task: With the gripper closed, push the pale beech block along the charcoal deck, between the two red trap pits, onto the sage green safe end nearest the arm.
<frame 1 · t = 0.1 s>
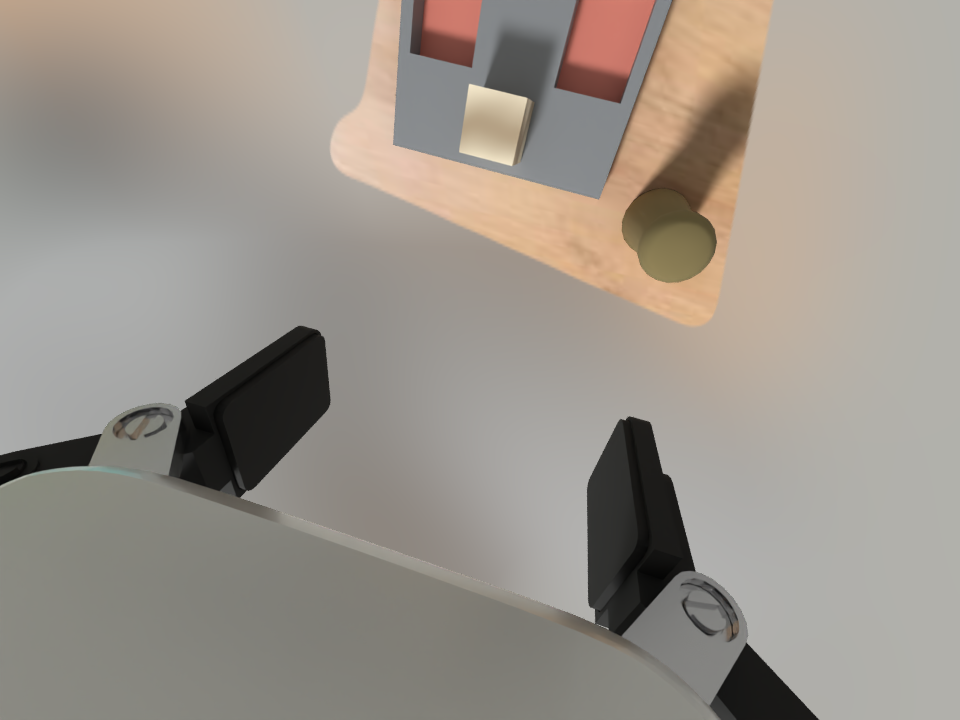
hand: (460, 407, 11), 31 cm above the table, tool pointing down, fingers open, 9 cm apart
olive pawn: (655, 222, 35), on the table
beech block: (502, 127, 32), point 2 cm above the table, touching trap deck
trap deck: (529, 20, 29), on the table
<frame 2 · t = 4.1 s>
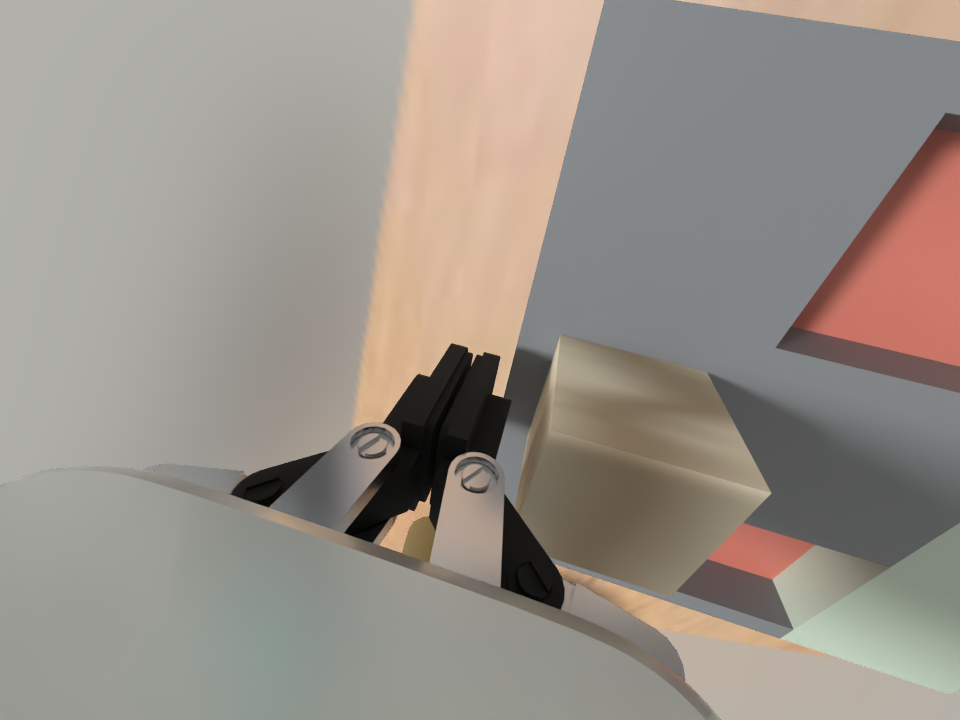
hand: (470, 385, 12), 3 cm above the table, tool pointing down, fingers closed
olive pawn: (452, 543, 24), on the table
beech block: (606, 407, 12), point 3 cm above the table, touching gripper, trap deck
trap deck: (801, 420, 14), on the table
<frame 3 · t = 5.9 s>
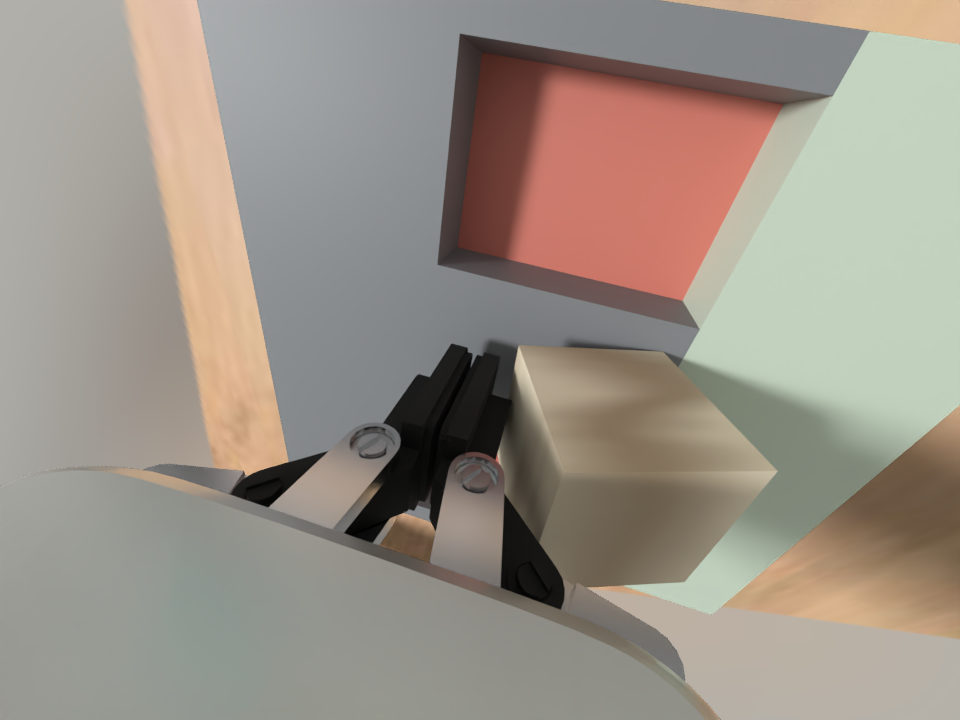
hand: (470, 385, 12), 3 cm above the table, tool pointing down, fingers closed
beech block: (573, 406, 12), point 3 cm above the table, tilted 19°, touching gripper
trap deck: (541, 351, 15), on the table
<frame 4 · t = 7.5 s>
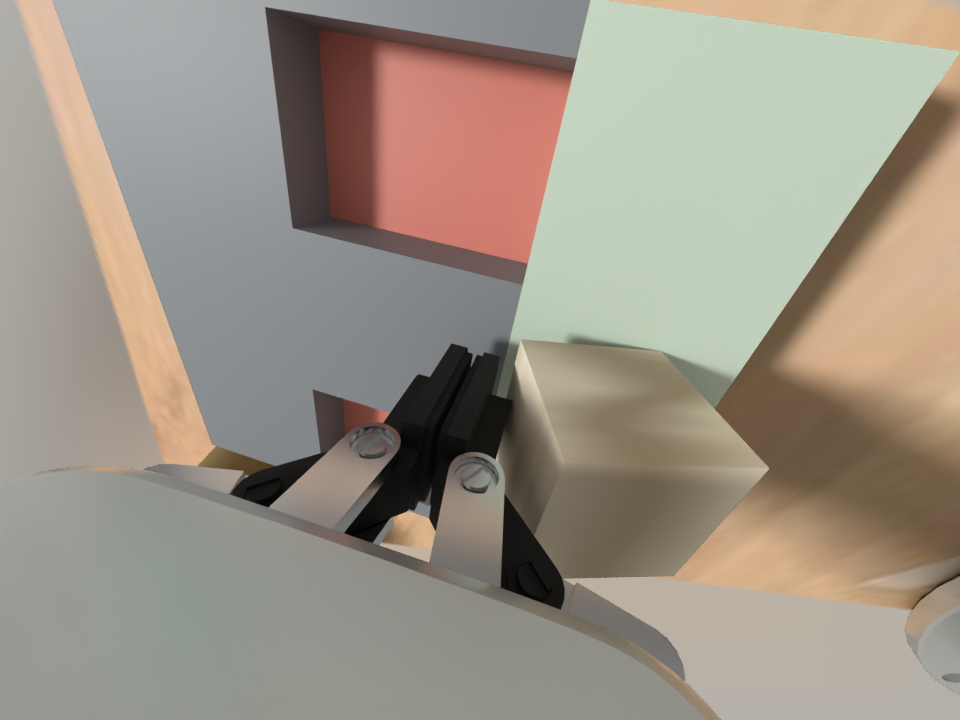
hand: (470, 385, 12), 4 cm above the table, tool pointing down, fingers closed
olive pawn: (253, 471, 26), on the table
beech block: (571, 402, 12), point 3 cm above the table, tilted 20°, touching gripper, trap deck
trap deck: (423, 319, 16), on the table
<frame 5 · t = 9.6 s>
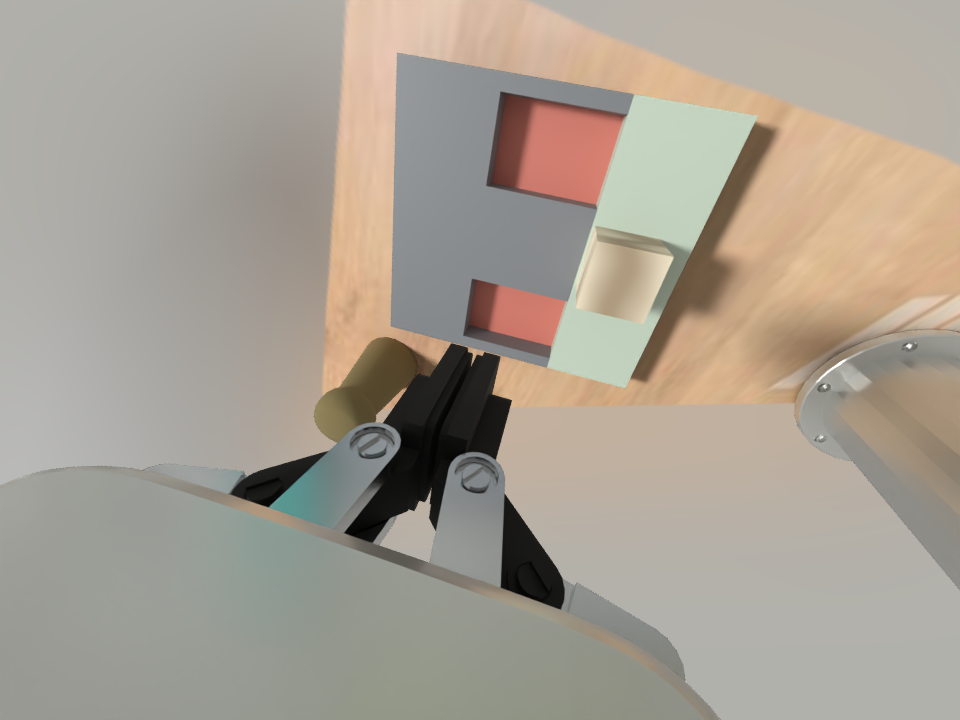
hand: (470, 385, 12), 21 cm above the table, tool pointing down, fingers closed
olive pawn: (391, 360, 40), on the table
beech block: (615, 263, 26), point 2 cm above the table, touching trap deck
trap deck: (532, 239, 29), on the table
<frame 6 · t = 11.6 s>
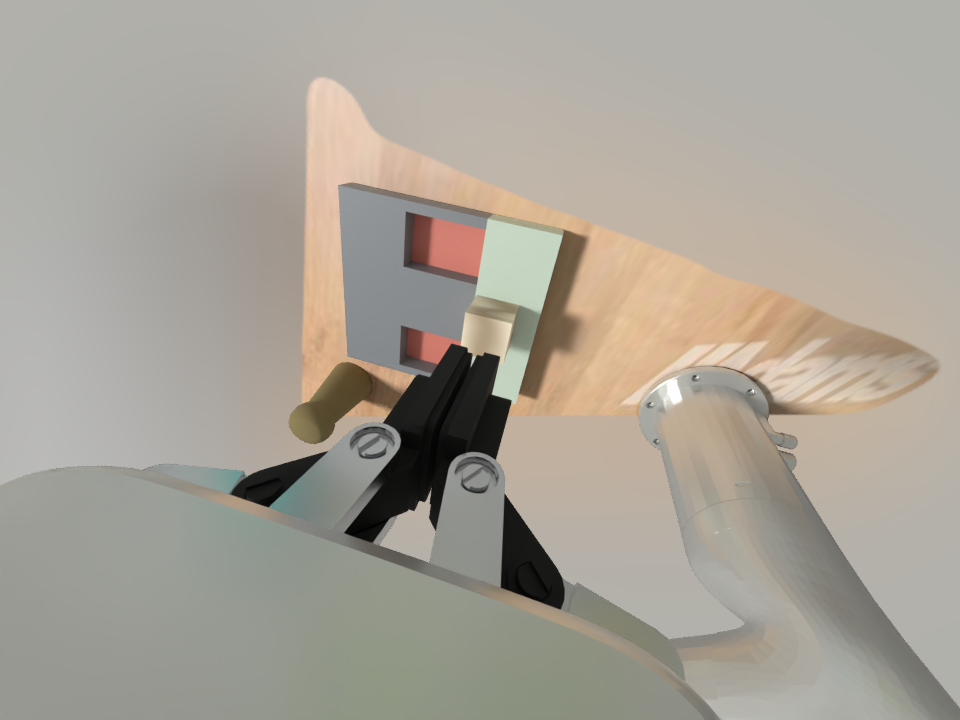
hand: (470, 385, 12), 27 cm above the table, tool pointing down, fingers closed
olive pawn: (353, 379, 52), on the table
beech block: (494, 319, 38), point 2 cm above the table, touching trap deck
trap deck: (444, 297, 41), on the table
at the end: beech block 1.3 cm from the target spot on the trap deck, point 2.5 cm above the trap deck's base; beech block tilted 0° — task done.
